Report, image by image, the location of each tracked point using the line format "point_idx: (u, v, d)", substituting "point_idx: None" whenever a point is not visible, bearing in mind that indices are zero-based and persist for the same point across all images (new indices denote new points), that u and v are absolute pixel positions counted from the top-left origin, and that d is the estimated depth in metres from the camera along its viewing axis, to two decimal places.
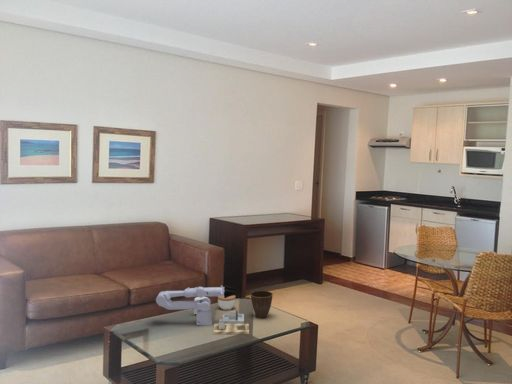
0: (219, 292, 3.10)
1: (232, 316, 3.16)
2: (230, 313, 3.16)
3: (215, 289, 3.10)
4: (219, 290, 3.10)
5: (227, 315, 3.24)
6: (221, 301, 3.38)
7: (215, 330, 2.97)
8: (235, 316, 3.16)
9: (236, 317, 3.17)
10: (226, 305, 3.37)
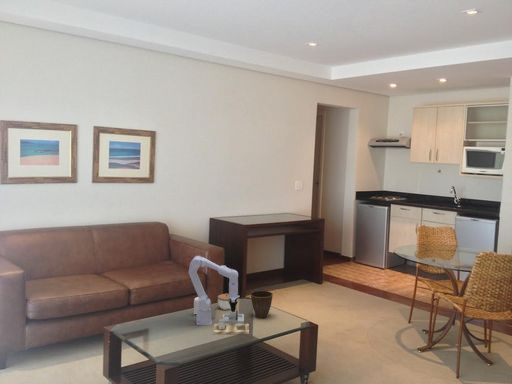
0: (233, 295, 3.09)
1: (232, 316, 3.16)
2: (230, 313, 3.16)
3: (236, 291, 3.10)
4: (235, 295, 3.09)
5: (227, 315, 3.24)
6: (221, 301, 3.38)
7: (215, 330, 2.97)
8: (235, 316, 3.16)
9: (236, 317, 3.17)
10: (226, 305, 3.37)
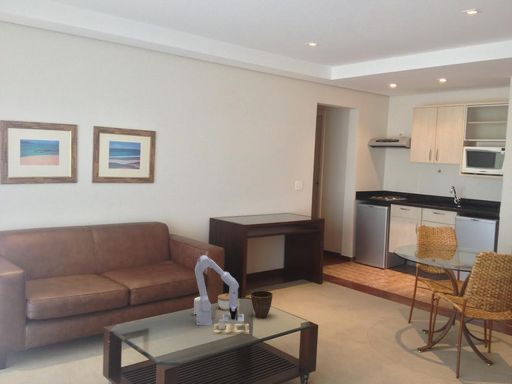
0: (233, 304, 3.15)
1: None
2: None
3: (236, 300, 3.16)
4: (235, 304, 3.15)
5: (227, 315, 3.24)
6: (221, 301, 3.38)
7: (215, 330, 2.97)
8: (235, 316, 3.16)
9: (236, 317, 3.17)
10: (226, 305, 3.37)
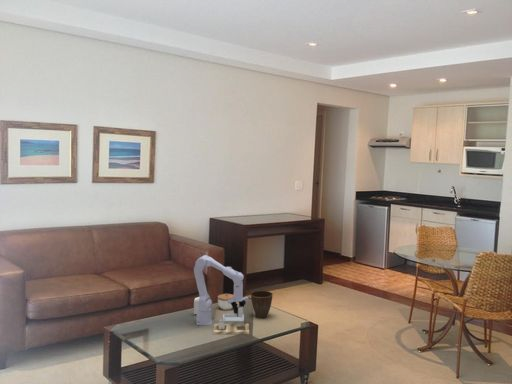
0: (234, 297, 3.06)
1: None
2: None
3: (237, 294, 3.04)
4: (236, 298, 3.05)
5: (227, 315, 3.24)
6: (221, 301, 3.38)
7: (215, 330, 2.97)
8: None
9: (237, 312, 3.05)
10: (226, 305, 3.37)
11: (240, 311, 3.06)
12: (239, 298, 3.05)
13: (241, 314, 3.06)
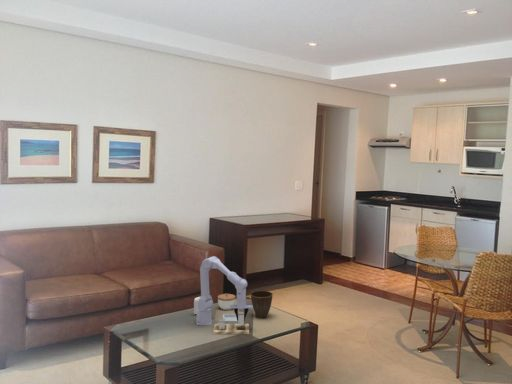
0: None
1: None
2: (238, 313, 3.04)
3: (238, 301, 2.99)
4: (237, 305, 3.00)
5: (227, 315, 3.24)
6: (221, 301, 3.38)
7: (215, 330, 2.97)
8: (238, 318, 3.01)
9: (238, 319, 3.00)
10: (226, 305, 3.37)
11: (240, 319, 2.99)
12: (240, 305, 2.99)
13: (242, 322, 2.99)
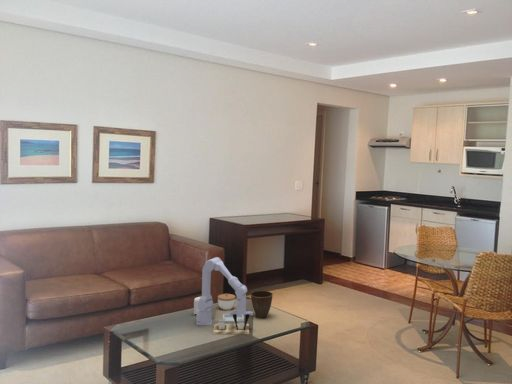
0: None
1: None
2: (238, 320, 3.04)
3: (238, 307, 2.99)
4: (237, 311, 3.00)
5: (227, 315, 3.24)
6: (221, 301, 3.38)
7: (215, 330, 2.97)
8: (238, 326, 3.01)
9: (238, 327, 3.00)
10: (226, 305, 3.37)
11: (240, 326, 2.99)
12: (240, 311, 2.99)
13: (242, 329, 3.00)
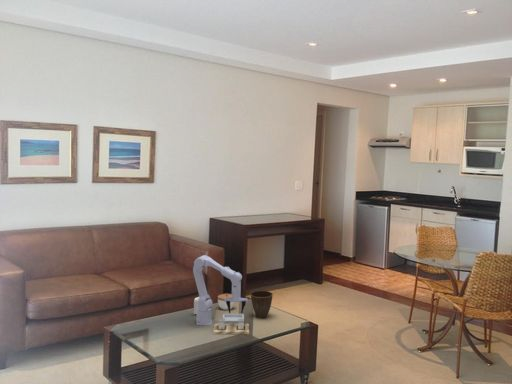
0: None
1: None
2: (238, 320, 3.04)
3: (233, 294, 3.03)
4: (232, 297, 3.04)
5: (227, 315, 3.24)
6: (221, 301, 3.38)
7: (215, 330, 2.97)
8: (238, 326, 3.01)
9: (238, 327, 3.00)
10: (226, 305, 3.37)
11: (240, 326, 2.99)
12: (234, 298, 3.03)
13: (242, 329, 3.00)
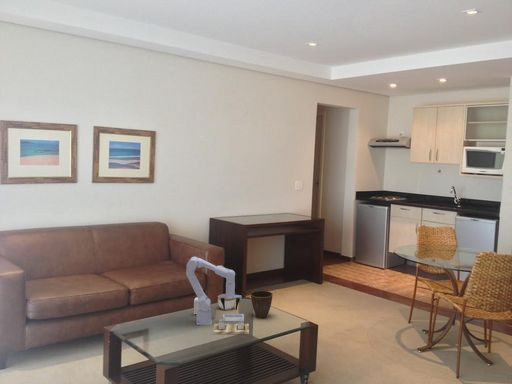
0: (226, 294, 3.11)
1: None
2: (238, 320, 3.04)
3: (227, 291, 3.09)
4: (226, 294, 3.10)
5: (227, 315, 3.24)
6: None
7: (215, 330, 2.97)
8: (238, 326, 3.01)
9: (238, 327, 3.00)
10: (226, 305, 3.37)
11: (240, 326, 2.99)
12: (229, 295, 3.09)
13: (242, 329, 3.00)
